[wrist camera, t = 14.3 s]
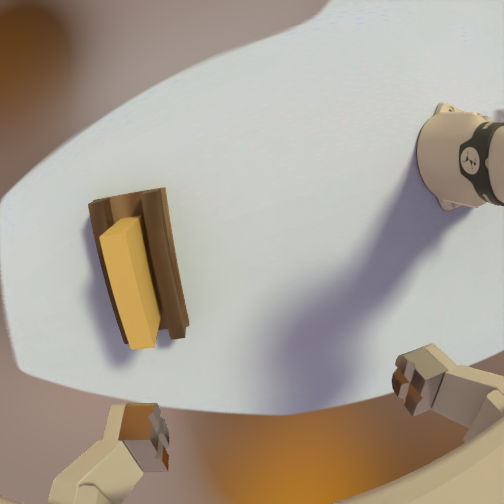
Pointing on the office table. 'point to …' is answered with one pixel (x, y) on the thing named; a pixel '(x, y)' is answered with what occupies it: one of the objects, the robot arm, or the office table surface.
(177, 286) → the sliding track
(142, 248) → the door panel
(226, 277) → the office table surface
